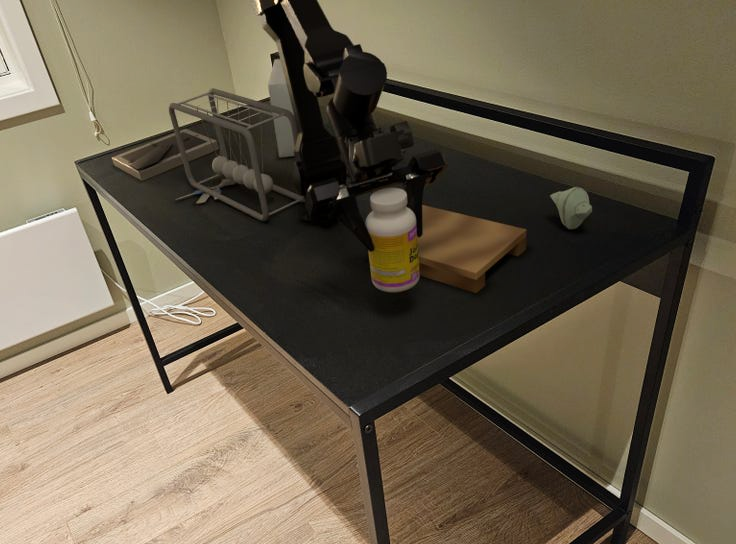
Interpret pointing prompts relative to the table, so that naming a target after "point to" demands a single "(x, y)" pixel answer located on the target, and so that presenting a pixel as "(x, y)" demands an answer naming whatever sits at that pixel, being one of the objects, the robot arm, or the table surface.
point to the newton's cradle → (221, 163)
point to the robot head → (572, 206)
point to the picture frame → (163, 154)
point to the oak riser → (464, 247)
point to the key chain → (205, 196)
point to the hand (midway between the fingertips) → (396, 243)
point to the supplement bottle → (393, 241)
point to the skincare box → (282, 100)
